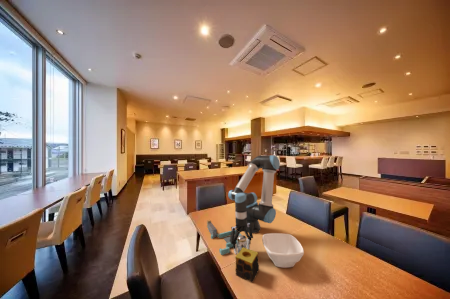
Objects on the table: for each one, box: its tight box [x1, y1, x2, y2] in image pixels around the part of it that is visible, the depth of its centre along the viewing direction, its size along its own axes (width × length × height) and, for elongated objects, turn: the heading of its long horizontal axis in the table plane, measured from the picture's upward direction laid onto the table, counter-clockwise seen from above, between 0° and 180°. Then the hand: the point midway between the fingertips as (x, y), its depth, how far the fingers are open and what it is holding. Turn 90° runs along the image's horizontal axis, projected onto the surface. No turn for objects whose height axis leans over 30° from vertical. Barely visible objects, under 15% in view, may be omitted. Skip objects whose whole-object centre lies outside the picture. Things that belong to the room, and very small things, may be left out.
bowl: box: [261, 232, 305, 268], centre depth 93 cm, size 22×22×12 cm
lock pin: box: [206, 219, 218, 239], centre depth 129 cm, size 3×17×7 cm, turn 23°
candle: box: [234, 247, 260, 283], centre depth 85 cm, size 10×10×10 cm
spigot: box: [237, 234, 247, 254], centre depth 102 cm, size 6×6×10 cm
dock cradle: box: [210, 229, 242, 256], centre depth 115 cm, size 21×23×3 cm
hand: (242, 251), depth 102 cm, fingers open, 9 cm apart
